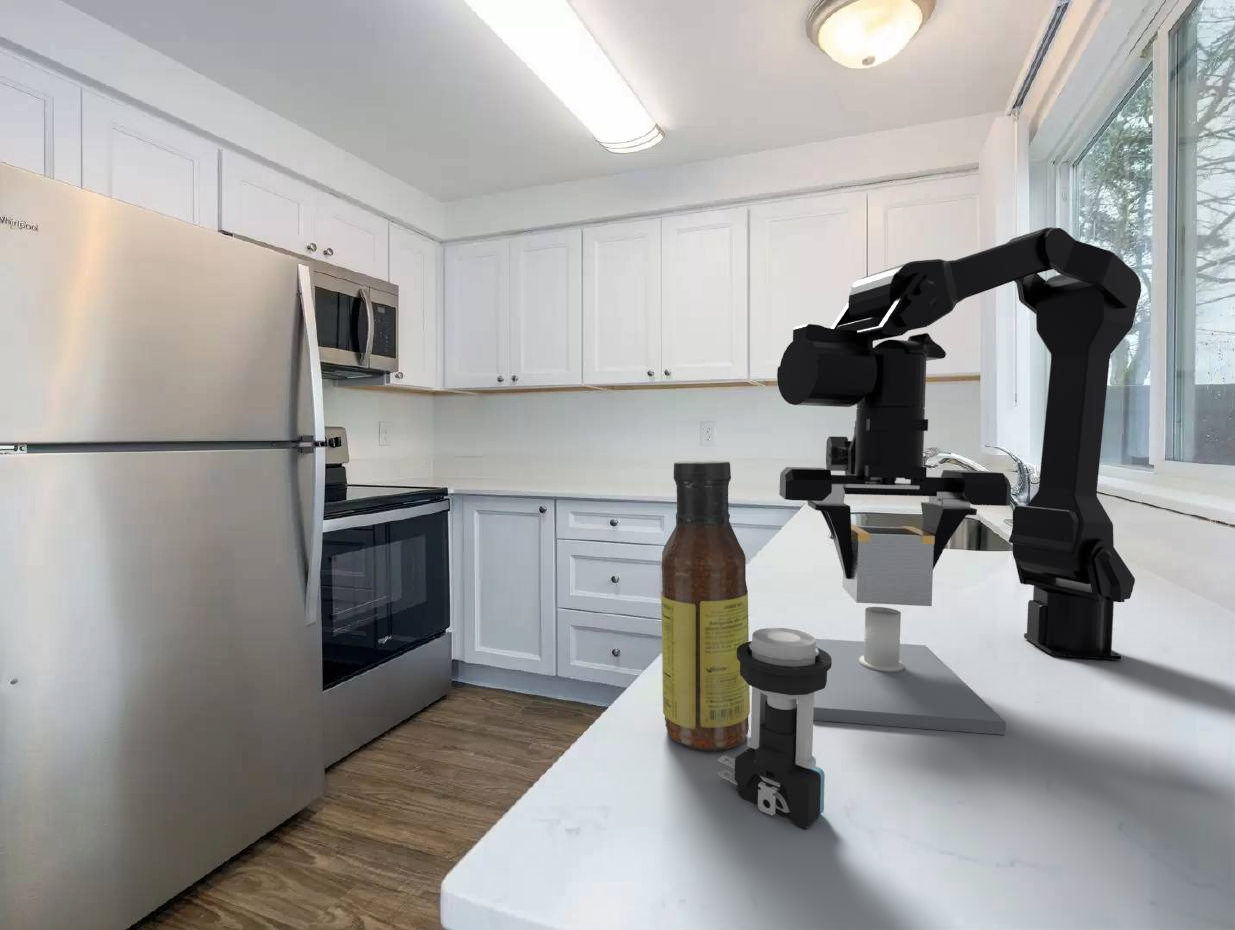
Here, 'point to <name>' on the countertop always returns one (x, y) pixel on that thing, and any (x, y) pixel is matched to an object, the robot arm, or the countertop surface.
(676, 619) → the sauce bottle
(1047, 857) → the countertop surface
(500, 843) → the countertop surface
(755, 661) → the push button
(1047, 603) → the robot arm
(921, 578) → the open cube shelf
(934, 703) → the panel
